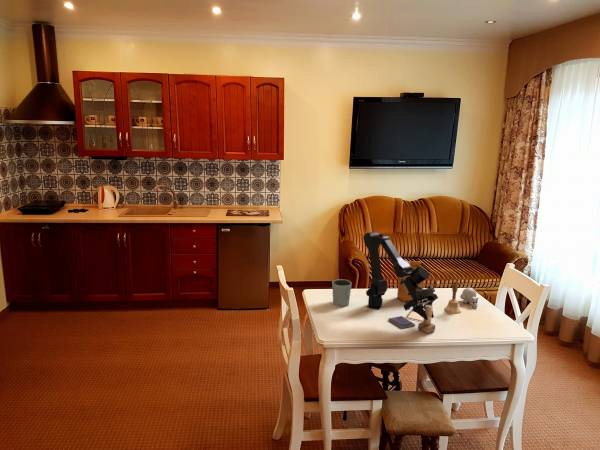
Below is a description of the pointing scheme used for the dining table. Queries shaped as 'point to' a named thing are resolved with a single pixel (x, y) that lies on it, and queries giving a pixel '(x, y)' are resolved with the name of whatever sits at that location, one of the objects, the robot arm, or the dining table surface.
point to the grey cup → (341, 292)
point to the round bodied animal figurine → (469, 296)
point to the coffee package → (401, 288)
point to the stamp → (427, 321)
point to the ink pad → (401, 322)
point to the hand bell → (453, 301)
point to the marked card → (414, 316)
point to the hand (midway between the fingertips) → (430, 318)
